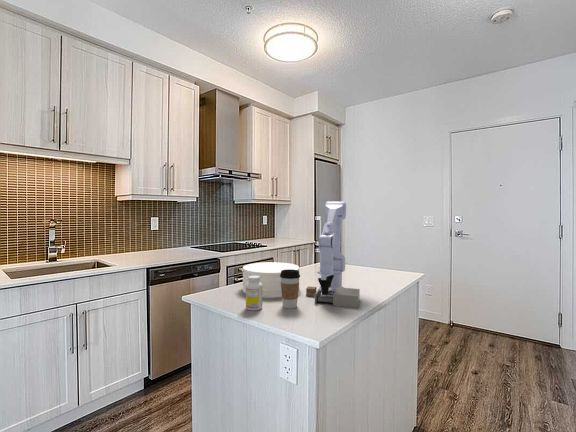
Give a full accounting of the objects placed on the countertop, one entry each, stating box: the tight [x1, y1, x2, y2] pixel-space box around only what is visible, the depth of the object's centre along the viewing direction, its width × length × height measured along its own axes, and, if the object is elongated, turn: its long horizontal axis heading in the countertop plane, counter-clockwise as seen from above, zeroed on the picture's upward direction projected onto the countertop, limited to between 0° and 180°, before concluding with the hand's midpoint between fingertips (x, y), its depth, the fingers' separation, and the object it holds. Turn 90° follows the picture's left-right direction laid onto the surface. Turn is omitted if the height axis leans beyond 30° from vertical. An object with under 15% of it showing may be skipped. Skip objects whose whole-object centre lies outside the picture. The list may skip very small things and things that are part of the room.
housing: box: [332, 287, 361, 309], centre depth 134 cm, size 12×10×5 cm
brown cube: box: [305, 286, 317, 298], centre depth 145 cm, size 4×4×4 cm
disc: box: [318, 286, 333, 294], centre depth 137 cm, size 6×6×2 cm
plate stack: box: [242, 261, 300, 299], centre depth 155 cm, size 28×28×12 cm
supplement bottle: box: [245, 276, 263, 312], centre depth 126 cm, size 7×7×13 cm
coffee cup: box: [280, 269, 301, 309], centre depth 129 cm, size 8×8×15 cm
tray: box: [313, 288, 334, 304], centre depth 137 cm, size 12×10×4 cm
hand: (326, 292), depth 137 cm, fingers closed on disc, 5 cm apart
